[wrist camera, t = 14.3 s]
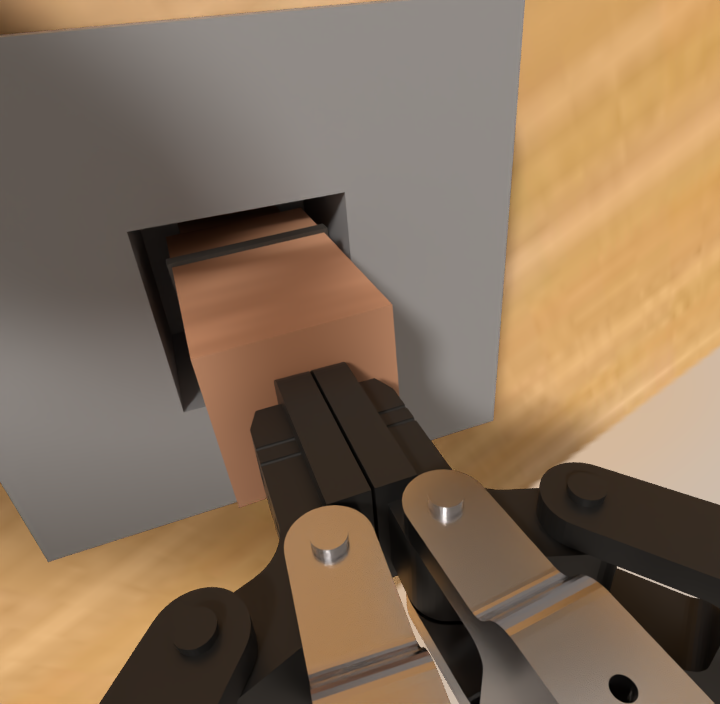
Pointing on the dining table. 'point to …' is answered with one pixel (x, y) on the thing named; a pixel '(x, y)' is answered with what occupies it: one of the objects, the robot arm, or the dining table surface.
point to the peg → (271, 319)
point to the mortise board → (227, 195)
